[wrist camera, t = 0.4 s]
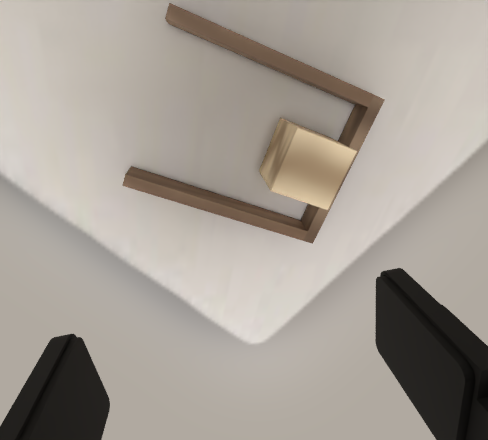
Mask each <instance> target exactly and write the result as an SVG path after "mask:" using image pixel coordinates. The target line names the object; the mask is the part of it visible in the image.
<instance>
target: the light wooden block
mask: <svg viewBox="0 0 488 440" xmlns="http://www.w3.org/2000/svg"><path fill="white" fill-rule="evenodd" d="M356 153H357V151H356V150H354V149H352V148H350V147H348V146H346V145H344V144H342V143H340V142H338V141H336V140H334V139H332V138H330V137H327V136H325V135H322V134H320V133H317V132H315V131H312V130H310V129H307V128H305V127H302V126H300V125H297V124H295V123H292V122H290V121H287V120H285V119H282V118H280V120H279V123H278V125H277V128H276V130H275V133H274V135H273V138H272V140H271V142H270V145H269V147H268V150H267V152H266V155H265V157H264V160H263V162H262V165H261V167H260V170H259V172H260V173H261V175H262V177H263V178H264V180H265V182H266V184H267V185H268V187H269V189H270V191H272V192H275V193H278V194H281V195H284V196H287V197H290V198H293V199H296V200H299V201H302V202H305V203H308V204H311V205H314V206H317V207H320V208H323V209H326V210H328V209H329V207H330V205H331V203H332V201H333V199H334V197H335V195H336V193H337V191H338V189H339V187H340V185H341V183H342V181H343V179H344V177H345V175H346V173H347V171H348V169H349V167H350V165H351V163H352V161H353V159H354V157H355V155H356Z"/></svg>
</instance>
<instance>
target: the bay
mask: <svg viewBox="0 0 488 440" xmlns="http://www.w3.org/2000/svg"><path fill="white" fill-rule="evenodd" d="M165 19H166V21H167V22H168V23H169V24H171V25H173V26H175V27H177V28H180V29H182V30H184V31H187V32H189V33H191V34H194V35H196V36H198V37H201V38H203V39H205V40H207V41H210V42H212V43H214V44H217V45H219V46H221V47H224V48H226V49H228V50H231V51H233V52H235V53H237V54H240V55H242V56H244V57H247V58H249V59H251V60H254V61H256V62H258V63H260V64H263V65H265V66H267V67H270V68H272V69H274V70H277V71H279V72H281V73H284V74H286V75H288V76H290V77H293V78H295V79H297V80H300V81H302V82H304V83H307V84H309V85H311V86H314V87H316V88H318V89H320V90H323V91H325V92H327V93H330V94H332V95H334V96H337V97H339V98H341V99H344V100H346V101H348V102H350V103H353V104H355V107H354V109H353V111H352V113H351V115H350V117H349V119H348V121H347V124H346V126H345V128H344V130H343V132H342V134H341V136H340V138H339V140H338V142H340V143H342V144H344V145H346V146H348V147H350V148H352V149H354V150H356V151H357V153H356V155H355V157H354V159H353V161H352V163H351V165H350V167H349V169H348V171H347V173H346V175H345V177H344V179H343V181H342V183H341V185H340V187H339V189H338V191H337V193H336V195H335V197H334V199H333V201H332V203H331V205H330V207H329V209H328V210H326V209H323V208H320V207H317V206H314V205H311V204H308V206H307V208H306V210H305V212H304V214H303V217H302V219H301V221H300V220H297V219H294V218H291V217H288V216H285V215H281V214H278V213H275V212H272V211H269V210H266V209H263V208H260V207H256V206H253V205H250V204H247V203H244V202H241V201H238V200H235V199H231V198H228V197H225V196H222V195H219V194H216V193H213V192H210V191H207V190H203V189H200V188H197V187H194V186H191V185H188V184H185V183H182V182H178V181H175V180H172V179H169V178H166V177H163V176H160V175H157V174H153V173H150V172H147V171H144V170H141V169H138V168H135V167H132V166H131V168H130V169H129V170H128V172H127V173H126V174H125V178H124V182H123V186H126V187H129V188H132V189H135V190H139V191H142V192H145V193H149V194H152V195H155V196H158V197H162V198H165V199H168V200H172V201H175V202H178V203H181V204H185V205H188V206H191V207H195V208H198V209H201V210H204V211H208V212H211V213H214V214H218V215H221V216H224V217H227V218H231V219H234V220H237V221H240V222H244V223H247V224H250V225H254V226H257V227H260V228H263V229H267V230H270V231H273V232H277V233H280V234H283V235H286V236H290V237H293V238H296V239H300V240H303V241H306V242H309V243H313V242H314V240H315V238H316V236H317V234H318V232H319V230H320V228H321V226H322V224H323V222H324V220H325V218H326V216H327V214H328V212H329V210H330V208H331V206H332V204H333V202H334V200H335V198H336V196H337V194H338V192H339V190H340V188H341V186H342V184H343V182H344V180H345V178H346V176H347V174H348V172H349V170H350V168H351V166H352V164H353V162H354V160H355V158H356V156H357V154H358V152H359V150H360V148H361V146H362V144H363V142H364V140H365V138H366V136H367V134H368V132H369V130H370V128H371V126H372V124H373V122H374V120H375V118H376V116H377V114H378V112H379V110H380V108H381V106H382V104H383V102H384V99H382V98H380V97H378V96H375V95H373V94H371V93H369V92H367V91H364V90H362V89H360V88H358V87H355V86H353V85H351V84H349V83H347V82H344V81H342V80H340V79H338V78H335V77H333V76H331V75H329V74H326V73H324V72H322V71H320V70H318V69H315V68H313V67H311V66H309V65H306V64H304V63H302V62H300V61H298V60H295V59H293V58H291V57H289V56H286V55H284V54H282V53H280V52H277V51H275V50H273V49H271V48H269V47H266V46H264V45H262V44H260V43H257V42H255V41H253V40H251V39H249V38H246V37H244V36H242V35H240V34H237V33H235V32H233V31H231V30H228V29H226V28H224V27H222V26H220V25H217V24H215V23H213V22H211V21H208V20H206V19H204V18H202V17H199V16H197V15H195V14H193V13H191V12H188V11H186V10H184V9H182V8H179V7H177V6H175V5H173V4H171V3H169V6H168V10H167V14H166V18H165Z"/></svg>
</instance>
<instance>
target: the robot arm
mask: <svg viewBox="0 0 488 440" xmlns="http://www.w3.org/2000/svg"><path fill="white" fill-rule="evenodd" d="M376 346H377V349H378V351H379V353H380V355H381V356H382V358H383V359H384V361H385V362H386V364H387V365H388V367H389V368H390V370H391V371H392V373H393V374H394V375H395V377H396V379H397V380H398V382H399V383H400V385H401V386H402V388H403V390H404V391H405V393H406V394H407V396H408V397H409V399H410V400H411V402H412V403H413V405H414V406H415V408H416V409H417V411H418V412H419V414H420V415H421V417H422V418H423V420H424V421H425V423H426V425H427V426H428V428H429V429H430V431H431V432H432V434H433V435H434V437H435V438H436V440H488V346H487V345H486V344H485V343H484V342H482V341H481V340H480V339H479V338H478V337H477V336H476V335H475V334H474V333H473V332H472V331H470V330H469V329H468V328H467V327H466V326H465V325H464V324H463V323H462V322H461V321H460V320H459V319H458V318H457V317H455V316H454V315H453V314H452V313H451V312H450V311H449V310H448V309H447V308H445V307H444V306H443V305H441V304H439V303H438V302H437V301H436V300H435V299H434V298H433V297H432V296H431V295H430V294H429V293H428V292H427V291H425V290H424V289H423V288H422V287H421V286H420V285H419V284H418V283H417V282H416V281H415V280H413V278H412V277H410V276H409V275H408V274H407V273H406V272H405V271H404V270H403V269H401V268H397V269H392V270H387V271H383V272H381V276H380V277H377V279H376ZM109 408H110V402H109V397H108V395H107V393H106V391H105V389H104V386H103V384H102V381H101V380H100V377H99V375H98V373H97V371H96V368H95V366H94V364H93V362H92V359H91V357H90V355H89V352H88V350H87V348H86V346H85V344H84V341H83V339H82V338H80V337H78V338H77V337H76V336H75V335H74V334H69V335H64V336H59V337H54V338H52V339H51V340H50V342H49V343H48V345H47V347H46V348H45V350H44V352H43V354H42V355H41V357H40V359H39V361H38V362H37V364H36V366H35V367H34V369H33V371H32V373H31V375H30V376H29V378H28V380H27V381H26V383H25V385H24V386H23V388H22V390H21V392H20V394H19V395H18V397H17V399H16V400H15V402H14V404H13V405H12V407H11V409H10V411H9V413H8V414H7V416H6V418H5V419H4V421H3V423H2V425H1V426H0V440H101V438H102V435H103V431H104V428H105V424H106V420H107V417H108V412H109Z"/></svg>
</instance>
